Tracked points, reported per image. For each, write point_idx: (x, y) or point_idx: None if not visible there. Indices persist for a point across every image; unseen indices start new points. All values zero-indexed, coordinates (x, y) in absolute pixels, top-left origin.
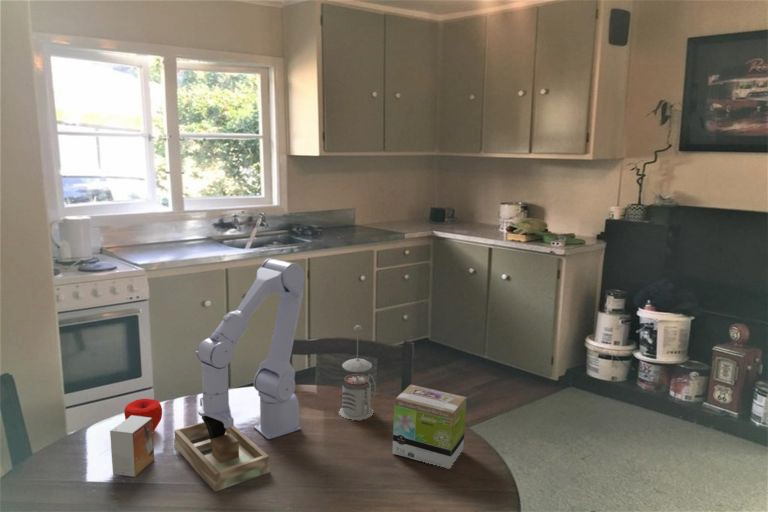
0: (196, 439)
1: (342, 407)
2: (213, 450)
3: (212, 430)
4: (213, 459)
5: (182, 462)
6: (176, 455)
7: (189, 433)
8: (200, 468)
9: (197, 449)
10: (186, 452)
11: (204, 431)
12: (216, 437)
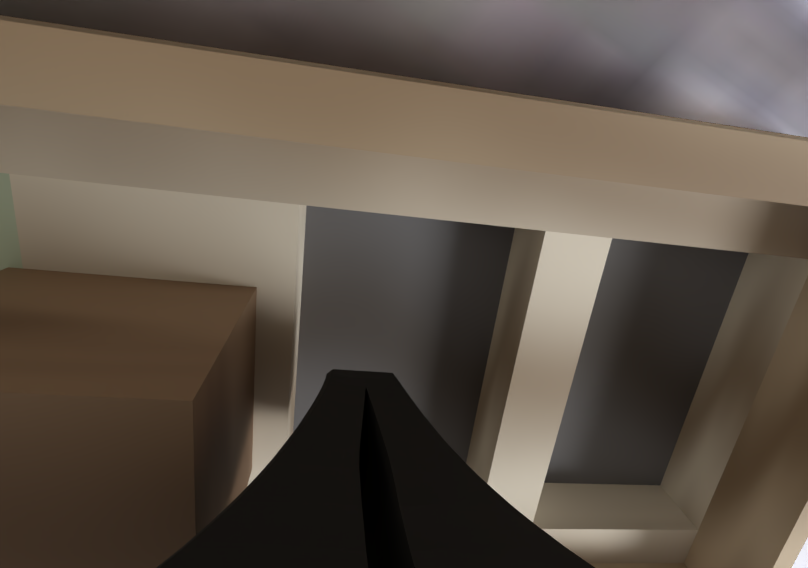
0: (707, 336)
1: None
2: (188, 312)
3: (180, 558)
4: (145, 249)
5: (480, 39)
6: (639, 67)
7: (804, 313)
8: (39, 22)
9: (290, 133)
10: (514, 93)
11: (725, 433)
12: (189, 477)
